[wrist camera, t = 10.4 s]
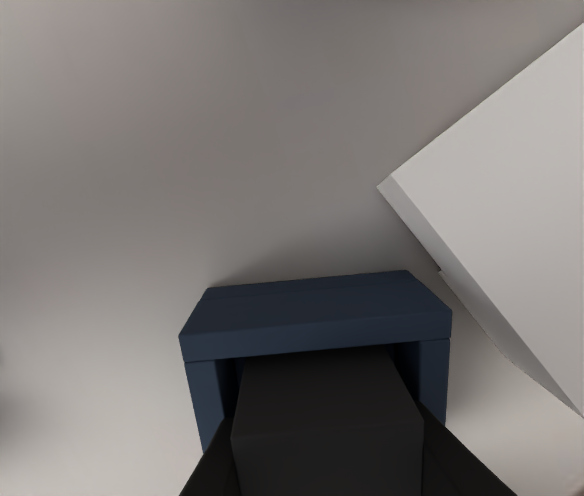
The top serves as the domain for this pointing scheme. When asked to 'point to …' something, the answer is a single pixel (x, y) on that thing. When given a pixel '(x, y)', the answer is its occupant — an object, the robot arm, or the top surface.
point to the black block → (327, 426)
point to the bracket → (512, 216)
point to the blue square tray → (314, 334)
